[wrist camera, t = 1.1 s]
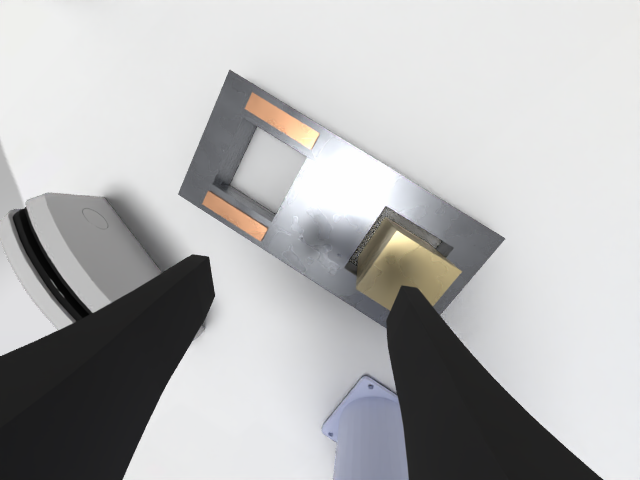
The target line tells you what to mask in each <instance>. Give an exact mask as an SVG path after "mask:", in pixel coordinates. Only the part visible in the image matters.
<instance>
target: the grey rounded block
mask: <svg viewBox="0 0 640 480" xmlns="http://www.w3.org/2000/svg"><path fill="white" fill-rule="evenodd" d="M0 241H1V244H2V247H3V249H4V252H5V254H6V257H7V259H8V262H9V263H10V265H11V267H12V269H13V271H14V273H15V274H16V276H17V278H18V280H19V281H20V282H21V284H22V286H23V288H24V289H25V291H26V292H27V294H28V295H29V296H30V298H31V299H32V301H33V302H34V303H35V305H36V306H37V307H38V308H39V309H40V310H41V312H42V313H43V314H44V315H45V316H46V318H47V319H48V320H49V321H50V322H51V323H52V324H53V325H54V326H55V328H57V330H60V329H62V328H64V327H66V326H68V325H70V324H72V323H74V322H76V321H78V320H80V319H82V318H84V317H86V316H88V315H90V314H92V313H94V312H96V311H97V310H99V309H101V308H103V307H105V306H106V305H108V304H110V303H112V302H114V301H115V300H117V299H119V298H121V297H122V296H124V295H126V294H128V293H130V292H131V291H133V290H135V289H136V288H138V287H140V286H141V285H143V284H145V283H146V282H148V281H150V280H151V279H153V278H155V277H156V276H158V275H160V274H161V273H162V272H161V271H160V269H159V268H158V267H157V265H156V264H155V263H154V262H153V260H152V259H151V258H150V256H149V255H148V254H147V252H146V251H145V250H144V248H143V247H142V246H141V245H140V243H139V242H138V241H137V239H136V238H135V237H134V235H133V234H132V233H131V231H130V230H129V229H128V228H127V226H126V225H125V224H124V222H123V221H122V220H121V218H120V217H119V216H118V214H117V213H116V212H115V211H114V209H113V208H112V207H111V205H110V204H109V203H108V201H107V200H106V199H105V197H95V196H83V195H72V194H60V193H45V194H42V195H40V196H37V197H34V198H31V199H29V200H27V201H26V207H25V209H14V210H11V211H9V212H8V213H7V214H6V215H5V216H4V217H3V218H2V219H1V221H0ZM204 330H205V328H204V327H203V326H202V325H201V327H200V329H199V331H198V332H197V334H196V336H195V337H194V339H196V338H197V337H198V336H199V335H200V334H201V333H202V332H203V331H204ZM194 339H193V340H194Z"/></svg>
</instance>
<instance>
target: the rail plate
mask: <svg viewBox="0 0 640 480" xmlns="http://www.w3.org/2000/svg"><path fill="white" fill-rule="evenodd" d="M257 126H258V127H260V128H261V129H263V130H265V131H266V132H268V133H269V134H271V135H273V136H274V137H276V138H277V139H279V140H281V141H282V142H284V143H285V144H287V145H289V146H290V147H292V148H294V149H295V150H297V151H298V152H300V153H302V154H303V155H305V156H306V157H307V159H306V160H305V162H304V164H303V166H302V168H301V170H300V171H299V173H298V175H297V177H296V179H295V181H294V182H293V184H292V186H291V188H290V190H289V192H288V193H287V195H286V197H285V199H284V201H283V203H282V204H281V206H280V208H279V210H278V212H277V214H274V213H273V212H271V211H270V210H268V209H266V208H265V207H263V206H262V205H260V204H259V203H257V202H255V201H254V200H252V199H251V198H249V197H247V196H246V195H244V194H243V193H241V192H240V191H238V190H236V189H235V188H233V187H232V186H230V182H231V180H232V178H233V176H234V174H235V172H236V170H237V168H238V165H239V163H240V161H241V159H242V157H243V155H244V153H245V151H246V148H247V146H248V144H249V142H250V140H251V138H252V136H253V134H254V131H255V129H256V127H257ZM178 195H180V196H181V197H183V198H184V199H186V200H188V201H189V202H191V203H192V204H194V205H195V206H197V207H198V208H200V209H202V210H203V211H205V212H206V213H208V214H209V215H211V216H212V217H214V218H216V219H217V220H219V221H220V222H222V223H223V224H225V225H226V226H228V227H230V228H231V229H233V230H234V231H236V232H237V233H239V234H240V235H242V236H244V237H245V238H247V239H248V240H250V241H251V242H253V243H254V244H256V245H258V246H259V247H261V248H262V249H264V250H265V251H267V252H268V253H270V254H272V255H273V256H275V257H276V258H278V259H279V260H281V261H282V262H284V263H286V264H287V265H289V266H290V267H292V268H293V269H295V270H297V271H298V272H300V273H301V274H303V275H304V276H306V277H307V278H309V279H311V280H312V281H314V282H315V283H317V284H318V285H320V286H321V287H323V288H325V289H326V290H328V291H329V292H331V293H332V294H334V295H335V296H337V297H339V298H340V299H342V300H343V301H345V302H346V303H348V304H349V305H351V306H353V307H354V308H356V309H357V310H359V311H360V312H362V313H363V314H365V315H367V316H368V317H370V318H371V319H373V320H374V321H376V322H377V323H379V324H381V325H382V326H384V327H385V328H387V326H386V320H387V318H388V315H389V313H390V310H388V309H387V308H385V307H383V306H382V305H380V304H379V303H377V302H376V301H374V300H372V299H371V298H369V297H368V296H366V295H365V294H363V293H362V292H360V291H358V290H357V289H356V279H357V267H358V266H356V265H355V264H353V263H351V262H350V261H349V259H350V258H351V256H352V255H353V254H354V252H355V251H356V249H357V248H358V246H359V245H360V243H361V242H362V240H363V239H364V237H365V236H366V234H367V233H368V231H369V230H370V228H371V227H372V225H373V224H374V222H375V221H376V219H377V218H378V216H379V215H380V213H381V212H382V210H383V209H384V208H385V206H387V207H389V208H390V209H392V210H394V211H395V212H397V213H398V214H400V215H402V216H403V217H405V218H406V219H408V220H410V221H411V222H413V223H415V224H416V225H418V226H419V227H421V228H423V229H424V230H426V231H427V232H429V233H431V234H432V235H434V236H435V237H437V238H439V239H440V240H442V242H441V244H440V245H439V246H438V247H437V249H436V250H437V251H438V252H440V253H441V254H442V255H443V256H444V257H446V258H447V259H448V260H449V261H450V262H451V263H453V264H454V265H455V266H456V267H457V268H459V269H460V270H461V271H462V272H461V274H460V275H459V276H458V277H457V278H456V280H455V281H454V282H453V283H452V284H451V286H450V287H449V288H448V289H447V290H446V291H445V293H444V294H443V295H442V296H441V297H440V299H439V300H438V301H437V302H436V303H435V305H434V306H433V308H434V309H435V310H436V311H437V313H438V314H439V315H441V313H442V312H443V311H444V310H445V309H446V307H447V306H448V305H449V304H450V303H451V302H452V300H453V299H454V298H455V297H456V296H457V295H458V293H459V292H460V291H461V290H462V289H463V288H464V286H465V285H466V284H467V283H468V282H469V281H470V279H471V278H472V277H473V276H474V275H475V274H476V272H477V271H478V270H479V269H480V268H481V267H482V265H483V264H484V263H485V262H486V261H487V260H488V258H489V257H490V256H491V255H492V254H493V253H494V251H495V250H496V249H497V248H498V247H499V246H500V244H501V243H502V242H503V241H504V240H505V238H504V237H502V236H500V235H499V234H497V233H496V232H494V231H492V230H491V229H489V228H487V227H486V226H484V225H482V224H481V223H479V222H478V221H476V220H474V219H473V218H471V217H469V216H468V215H466V214H465V213H463V212H461V211H460V210H458V209H456V208H455V207H453V206H451V205H450V204H448V203H447V202H445V201H443V200H442V199H440V198H438V197H437V196H435V195H434V194H432V193H430V192H429V191H427V190H425V189H424V188H422V187H420V186H419V185H417V184H416V183H414V182H412V181H411V180H409V179H407V178H406V177H404V176H402V175H401V174H399V173H398V172H396V171H394V170H393V169H391V168H389V167H388V166H386V165H385V164H383V163H381V162H380V161H378V160H376V159H375V158H373V157H371V156H370V155H368V154H367V153H365V152H363V151H362V150H360V149H358V148H357V147H355V146H354V145H352V144H350V143H349V142H347V141H345V140H344V139H342V138H340V137H339V136H337V135H336V134H334V133H332V132H331V131H329V130H327V129H326V128H324V127H323V126H321V125H319V124H318V123H316V122H314V121H313V120H311V119H309V118H308V117H306V116H305V115H303V114H301V113H300V112H298V111H296V110H295V109H293V108H291V107H290V106H288V105H287V104H285V103H283V102H282V101H280V100H278V99H277V98H275V97H274V96H272V95H270V94H269V93H267V92H265V91H264V90H262V89H260V88H259V87H257V86H256V85H254V84H252V83H251V82H249V81H247V80H246V79H244V78H243V77H241V76H239V75H238V74H236V73H234V72H233V71H231V70H229V72H228V75H227V77H226V80H225V82H224V84H223V87H222V89H221V92H220V94H219V97H218V99H217V101H216V104H215V106H214V109H213V111H212V113H211V116H210V118H209V121H208V123H207V126H206V128H205V130H204V133H203V135H202V138H201V140H200V142H199V145H198V147H197V150H196V152H195V155H194V157H193V159H192V162H191V164H190V167H189V169H188V171H187V174H186V176H185V179H184V181H183V184H182V186H181V188H180V191H179V193H178Z"/></svg>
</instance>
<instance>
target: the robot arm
mask: <svg viewBox="0 0 640 480" xmlns="http://www.w3.org/2000/svg"><path fill="white" fill-rule="evenodd" d="M214 297H215V292H214V286H213V280H212V273H211V267H210V260H209V257H207V256H200V255H193V254H192V255H191V256H189V257H187V258H185V259H184V260H182V261H181V262H179V263H177V264H176V265H174V266H172V267H171V268H169V269H168V270H166V271H164V272H163V273H161V274H160V275H158V276H156V277H155V278H153V279H151V280H150V281H148V282H146V283H145V284H143V285H141V286H140V287H138V288H136V289H135V290H133V291H131V292H130V293H128V294H126V295H124V296H122V297H121V298H119V299H117V300H115V301H114V302H112V303H110V304H108V305H106V306H105V307H103V308H101V309H99V310H97V311H96V312H94V313H92V314H90V315H88V316H86V317H84V318H82V319H80V320H78V321H76V322H74V323H72V324H70V325H68V326H66V327H64V328H62V329H60V330H58V331H56V332H54V333H52V334H50V335H48V336H45V337H43V338H41V339H39V340H37V341H34V342H32V343H30V344H28V345H25V346H23V347H21V348H18V349H16V350H14V351H11V352H9V353H7V354H5V355H2V356H0V480H123V477H124V475H125V473H126V470H127V468H128V466H129V463H130V461H131V459H132V456H133V454H134V452H135V450H136V448H137V445H138V443H139V441H140V439H141V437H142V434H143V432H144V430H145V428H146V426H147V424H148V421H149V419H150V417H151V415H152V413H153V411H154V409H155V407H156V405H157V403H158V401H159V399H160V396H161V394H162V392H163V391H164V389H165V387H166V385H167V383H168V381H169V380H170V378H171V376H172V374H173V373H174V371H175V369H176V368H177V366H178V364H179V363H180V361H181V359H182V358H183V356H184V354H185V353H186V351H187V349H188V348H189V346H190V344H191V342H192V341H193V339H194V337H195V336H196V334H197V332H198V331H199V329H200V327H201V325H202V324H203V322H204V320H205V318H206V316H207V313H208V311H209V309H210V307H211V304H212V302H213V299H214ZM386 326H387V340H388V349H389V355H390V360H391V365H392V370H393V375H394V380H395V385H396V390H397V395H398V396H397V395H396V394H394V393H393V392H391V391H390V390H388V389H386V388H385V387H383V386H382V385H380V384H379V383H377V382H376V381H374V380H373V379H371V378H370V377H368V376H364V377H362V378H361V379H360V380H359V382H358V383H357V384H356V385H355V387H354V388H353V389H352V390H351V391H350V393H349V394H348V395H347V396H346V398H345V399H344V400H343V401H342V402H341V404H340V405H339V406H338V407H337V409H336V410H335V411H334V412H333V413H332V415H331V416H330V417H329V418H328V420H327V421H326V422H325V423H324V424H323V426H322V433H323V434H324V435H326V436H327V437H329V438H330V439H332V440H333V441H335V442H336V443H337V447H336V457H335V466H334V475H333V480H603V479H602V478H601V477H599V476H598V475H597V474H596V473H595V472H594V471H592V470H591V469H590V468H589V467H588V466H587V465H586V464H584V463H583V462H582V461H581V460H580V459H579V458H577V457H576V456H575V455H574V454H573V453H572V452H571V451H569V450H568V449H567V448H566V447H565V446H564V445H563V444H562V443H561V442H559V441H558V440H557V439H556V438H555V437H554V436H553V435H552V434H551V433H550V432H548V431H547V430H546V429H545V428H544V427H543V426H542V425H541V424H540V423H539V422H538V421H536V420H535V419H534V418H533V417H532V416H531V415H530V414H529V413H528V412H527V411H526V410H525V409H524V408H523V407H522V406H521V405H520V404H519V403H518V402H517V401H516V400H515V399H514V398H513V397H512V396H511V395H510V394H509V393H508V392H507V391H506V390H505V389H504V388H503V387H502V386H501V385H500V384H499V383H498V382H497V381H496V380H495V379H494V378H493V377H492V376H491V375H490V374H489V373H488V371H487V370H486V369H485V368H484V367H483V366H482V365H481V364H480V363H479V362H478V360H477V359H476V358H475V357H474V356H473V355H472V354H471V353H470V351H469V350H468V349H467V348H466V347H465V346H464V344H463V343H462V342H461V341H460V340H459V339H458V337H457V336H456V335H455V334H454V333H453V331H452V330H451V329H450V328H449V326H448V325H447V324H446V323H445V321H444V320H443V319H442V318H441V316H440V315H439V314H438V313H437V311H436V310H435V309H434V308H433V306H432V305H431V304H430V302H429V301H428V300H427V299H426V297H425V296H424V295H423V294H422V292H421V291H420V290H419V289H418V288H417V287H410V286H403V285H401V287H400V290H399V292H398V294H397V297H396V299H395V301H394V304H393V306H392V308H391V311H390V313H389V315H388V318H387V320H386ZM369 384H372V385H373V386H369ZM331 432H332V433H331Z"/></svg>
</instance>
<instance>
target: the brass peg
mask: <svg viewBox="0 0 640 480" xmlns="http://www.w3.org/2000/svg"><path fill="white" fill-rule="evenodd" d="M461 272H462V271H461V270H460V269H459V268H457V267H456V266H455V265H454V264H453V263H451V262H450V261H449V260H448V259H447V258H446V257H444V256H443V255H442V254H441V253H440V252H438V251H437V250H436V249H435V248H434V247H432V246H431V245H430V244H429V243H427V242H426V241H424V240H423V239H421V238H419V237H418V236H416V235H414V234H413V233H411V232H410V231H408V230H406V229H405V228H403V227H402V226H400V225H398V224H397V223H395V222H394V221H392V220H390V219H389V218H387V217H385V218H384V220H383V221H382V223H381V224H380V225H379V227H378V228H377V230H376V231H375V233H374V234H373V236H372V237H371V239H370V240H369V242H368V243H367V245H366V246H365V247H364V249H363V250H362V252H361V253H360V255H359V256H358V267H357V279H356V289H357V290H358V291H360V292H362V293H363V294H365V295H366V296H368V297H369V298H371V299H372V300H374V301H376V302H377V303H379V304H380V305H382V306H383V307H385V308H387V309H388V310H390V311H391V308H392V306H393V304H394V301H395V299H396V297H397V294H398V292H399V290H400V287H401V285H403V286H410V287H417V288H418V289H419V290H420V291H421V292H422V294H423V295H424V296H425V297H426V299H427V300H428V301H429V302H430V304H431V305H432V306H434V305H435V303H436V302H437V301H438V300H439V299H440V297H441V296H442V295H443V294H444V293H445V291H446V290H447V289H448V288H449V287H450V286H451V284H452V283H453V282H454V281H455V280H456V278H457V277H458V276H459V275H460V274H461Z"/></svg>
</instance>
